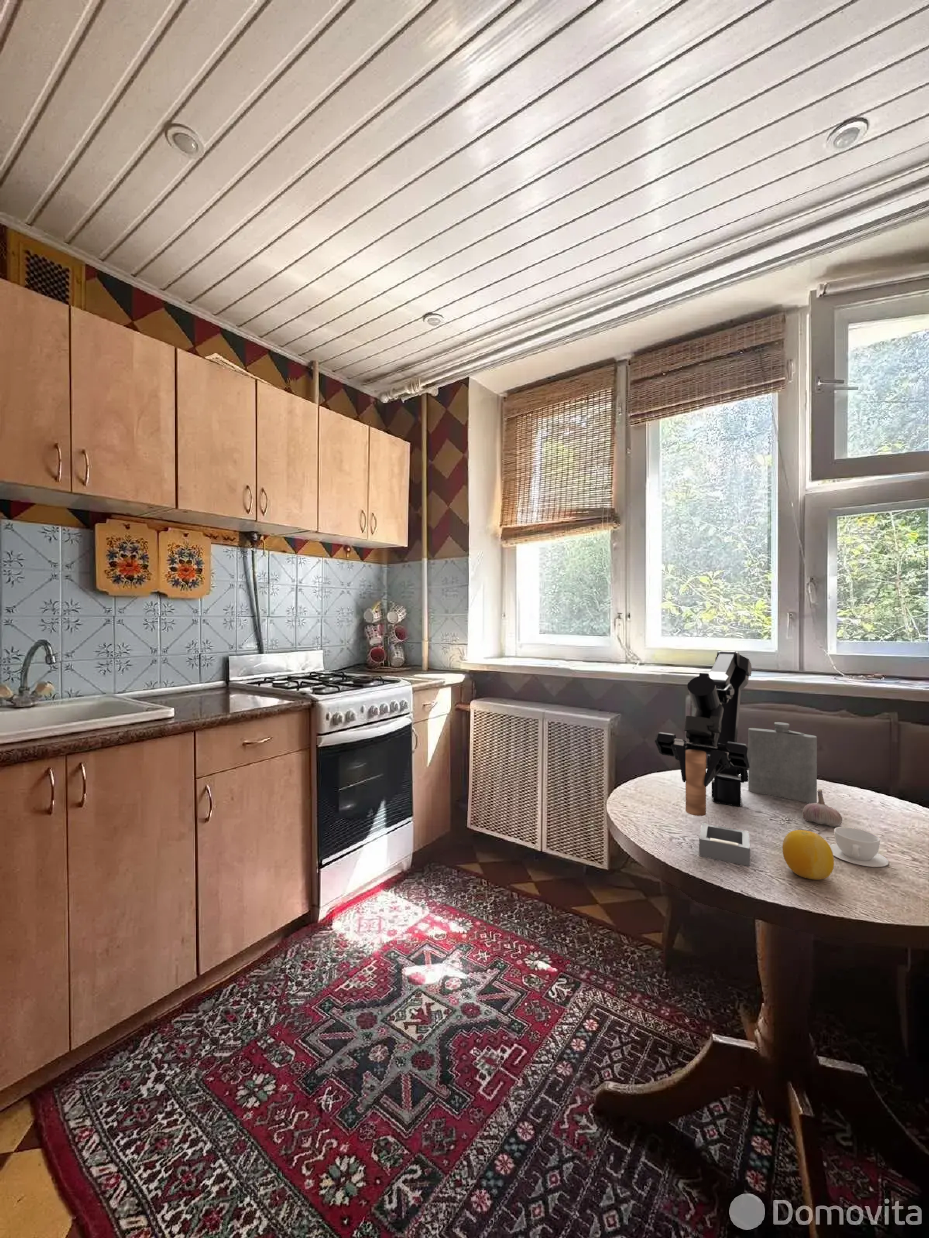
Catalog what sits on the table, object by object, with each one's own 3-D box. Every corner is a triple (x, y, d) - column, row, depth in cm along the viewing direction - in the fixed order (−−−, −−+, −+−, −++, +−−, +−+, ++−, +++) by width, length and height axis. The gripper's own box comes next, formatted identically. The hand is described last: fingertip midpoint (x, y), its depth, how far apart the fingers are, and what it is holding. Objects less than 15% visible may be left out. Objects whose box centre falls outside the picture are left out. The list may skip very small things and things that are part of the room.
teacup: (828, 841, 108) (828, 820, 108) (888, 855, 102) (888, 833, 102) (824, 858, 101) (824, 835, 101) (888, 874, 94) (888, 850, 94)
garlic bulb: (795, 819, 120) (795, 786, 120) (816, 815, 123) (816, 783, 123) (828, 831, 113) (828, 796, 113) (849, 827, 116) (849, 793, 116)
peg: (704, 809, 108) (704, 750, 108) (707, 816, 104) (707, 755, 104) (684, 807, 109) (684, 748, 109) (687, 814, 105) (686, 753, 105)
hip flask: (747, 791, 140) (747, 720, 140) (750, 787, 143) (750, 718, 143) (816, 804, 129) (816, 728, 129) (817, 800, 133) (817, 725, 133)
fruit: (845, 889, 89) (845, 845, 89) (796, 885, 90) (795, 841, 90) (818, 865, 97) (818, 824, 97) (773, 862, 99) (773, 822, 99)
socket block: (748, 847, 105) (748, 830, 105) (749, 866, 97) (749, 847, 97) (701, 838, 109) (701, 821, 109) (699, 855, 101) (699, 837, 101)
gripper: (657, 697, 115) (640, 754, 107) (748, 706, 104) (738, 771, 95) (667, 725, 121) (652, 781, 113) (754, 736, 110) (745, 800, 101)
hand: (694, 783), depth 105 cm, fingers closed on peg, 4 cm apart
